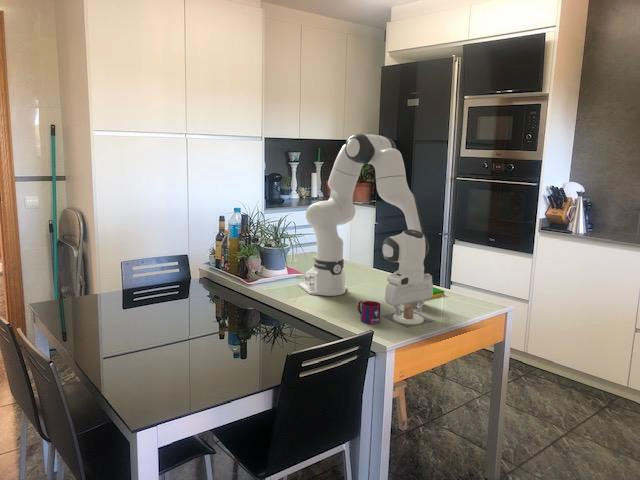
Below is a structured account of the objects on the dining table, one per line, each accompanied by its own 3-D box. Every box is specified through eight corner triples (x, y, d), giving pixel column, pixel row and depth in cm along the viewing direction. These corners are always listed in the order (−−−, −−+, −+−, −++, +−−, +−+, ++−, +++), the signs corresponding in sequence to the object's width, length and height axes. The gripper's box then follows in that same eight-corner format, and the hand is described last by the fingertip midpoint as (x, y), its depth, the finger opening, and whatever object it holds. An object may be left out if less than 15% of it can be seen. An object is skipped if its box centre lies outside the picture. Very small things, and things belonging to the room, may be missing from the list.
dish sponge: (408, 296, 219) (409, 290, 218) (432, 292, 226) (433, 286, 226) (420, 301, 213) (421, 295, 212) (444, 296, 220) (445, 290, 220)
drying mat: (380, 316, 191) (381, 315, 190) (409, 310, 198) (409, 309, 198) (406, 328, 179) (407, 327, 179) (436, 321, 187) (436, 320, 187)
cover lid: (386, 317, 189) (387, 304, 188) (409, 312, 195) (409, 300, 194) (407, 326, 180) (407, 313, 179) (430, 321, 186) (431, 308, 185)
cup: (368, 326, 180) (369, 307, 179) (352, 317, 189) (352, 299, 187) (383, 323, 183) (384, 305, 182) (367, 315, 192) (368, 297, 191)
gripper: (425, 270, 192) (423, 306, 195) (383, 277, 181) (381, 315, 184) (438, 274, 187) (435, 311, 190) (395, 281, 176) (393, 320, 179)
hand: (408, 313), depth 187 cm, fingers open, 8 cm apart
